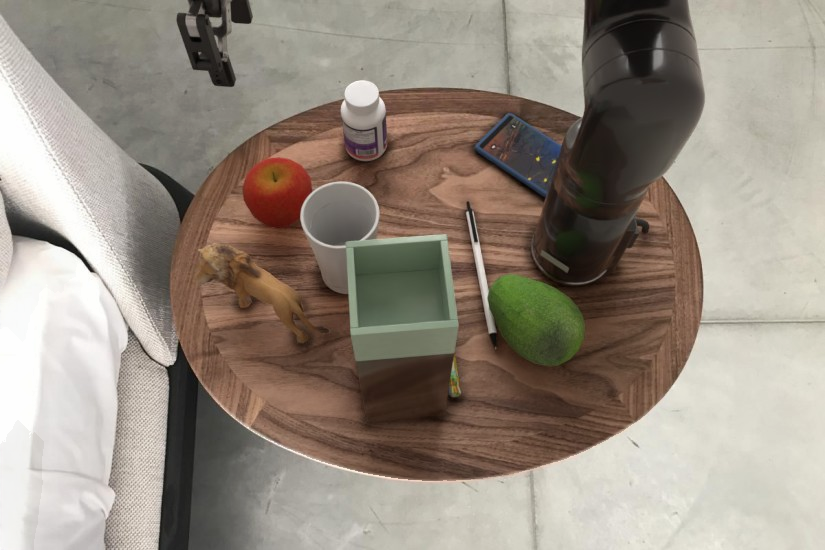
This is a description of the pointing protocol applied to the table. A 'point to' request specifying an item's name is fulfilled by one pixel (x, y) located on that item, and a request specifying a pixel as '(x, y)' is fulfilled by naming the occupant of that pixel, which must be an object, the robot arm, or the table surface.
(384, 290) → the green open-top box
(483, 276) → the pen
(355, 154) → the pill bottle
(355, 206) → the cup
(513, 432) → the table surface
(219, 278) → the lion figurine
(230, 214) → the table surface
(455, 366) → the pencil
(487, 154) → the smartphone
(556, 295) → the fruit
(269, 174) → the apple
